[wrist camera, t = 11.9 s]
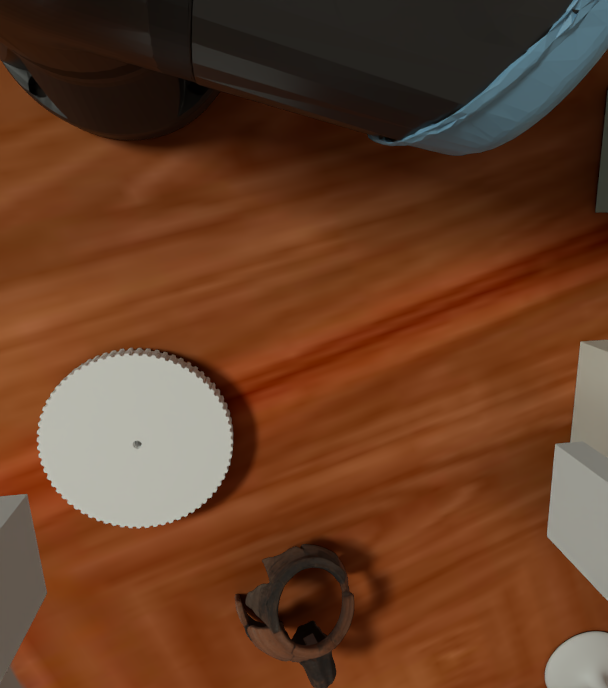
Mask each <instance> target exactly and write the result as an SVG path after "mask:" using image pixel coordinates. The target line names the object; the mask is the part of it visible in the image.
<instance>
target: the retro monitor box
mask: <svg viewBox="0 0 608 688" xmlns="http://www.w3.org/2000/svg"><path fill="white" fill-rule="evenodd" d="M595 212H608V92H607V102H606V112H605V122H604V132H603V141H602V151H601V161H600V171H599V181H598V190H597V200H596V210H595Z"/></svg>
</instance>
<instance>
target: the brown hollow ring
mask: <svg viewBox="0 0 608 688" xmlns="http://www.w3.org/2000/svg"><path fill="white" fill-rule="evenodd" d="M262 562H263V563H264V565H265V568H266V571H267V573H268V577H269V581H270V582H269V583H268V584H261V585H259V586H258V587H256V588H255V589H254V590H253V591H251V592H249V593H248V594H247V597H246V606H248V607H249V608H251V609H252V610H253V611H254V613H255V614H256V615H257V616H258V617H259V618H260V619H261V620H262V621H263V622H264V623H265V624H264V623H261V622H257V621H255V620H253V619H252V618H251V617H250V616H249V615H248V614H247V612H246V611H245V609H244V607H243V604H242V601H241V598H240V595H239V594H235V603H236V610H237V613H238V615H239V618H240V621H241V623H242V624H243V626H244V628H245V631H246V634H247V636H248V637H249V638H250V640H251V641H252V642H253V644H254V645H255V646H256V647H257V648H259V649H260V650H261V651H263V652H265V653H266V654H268V655H270V656H272V657H274V658H276V659H279V660H281V661H292V662H299V663H300V664H301V665H302V666H303V667H304V669H305V671H306V673H307V676H308V678H309V680H310V682H311V684H312V686H313V687H314V688H327V687H328V686H329V685H330V684H332V683H333V681H334V679H335V676H336V668H335V663H334V660H333V657H332V650H333V649H334V648H336V646H337V645H338V644H339V643H340V642H341V641H342V639H343V638H344V636H345V635H346V633H347V631H348V629H349V627H350V625H351V621H352V618H353V613H354V595H353V594H352V593H350V591H349V586H348V577H347V573H346V571H345V568H344V566H343V564H342V563H341V561H340V560H339V559H338V556H337V555H336V554H335V553H333V552H332V551H330V550H328V549H326V548H323V547H321V546H317V545H310V544H302V545H301V547H300V548H299V547H297V546H295V547H292V548H290V549H288V550H287V551H286V552H284V553H282V554H280V555H278V556H274V557H269V558H265V559H263V560H262ZM313 567H314V568H321V569H325V570H327V571H328V572H330V573H331V574H332V575H333V576H334V577H335V578H336V579H337V581H338V582H339V583H340V586H341V589H342V609H341V614H340V617H339V620H338V622H337V624H336V626H335V627H334V629H333V630H332V632H331V633H330V634H329V635H328V636H327V635H326V634H324V633H323V632H322V631H321V629H320V628H319V627H318V626H317V625H316V623H315V622H314V621H310V622H308V623H307V624H305V625H301V626H299V627H298V628H297V631H296V633H295V634H294V636H293V638H292V639H290V638H289V636H288V633H287V632H286V631H285V629H284V625H283V623H282V622H279V618H278V605H279V600H280V596H281V593H282V591H283V588H284V586H285V585H286V584H287V582H288V581H289V580H290V579H291V578H292V577H293V576H294V575H295V574H297V573H298V572H300V571H301V570H304V569H307V568H313Z"/></svg>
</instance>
